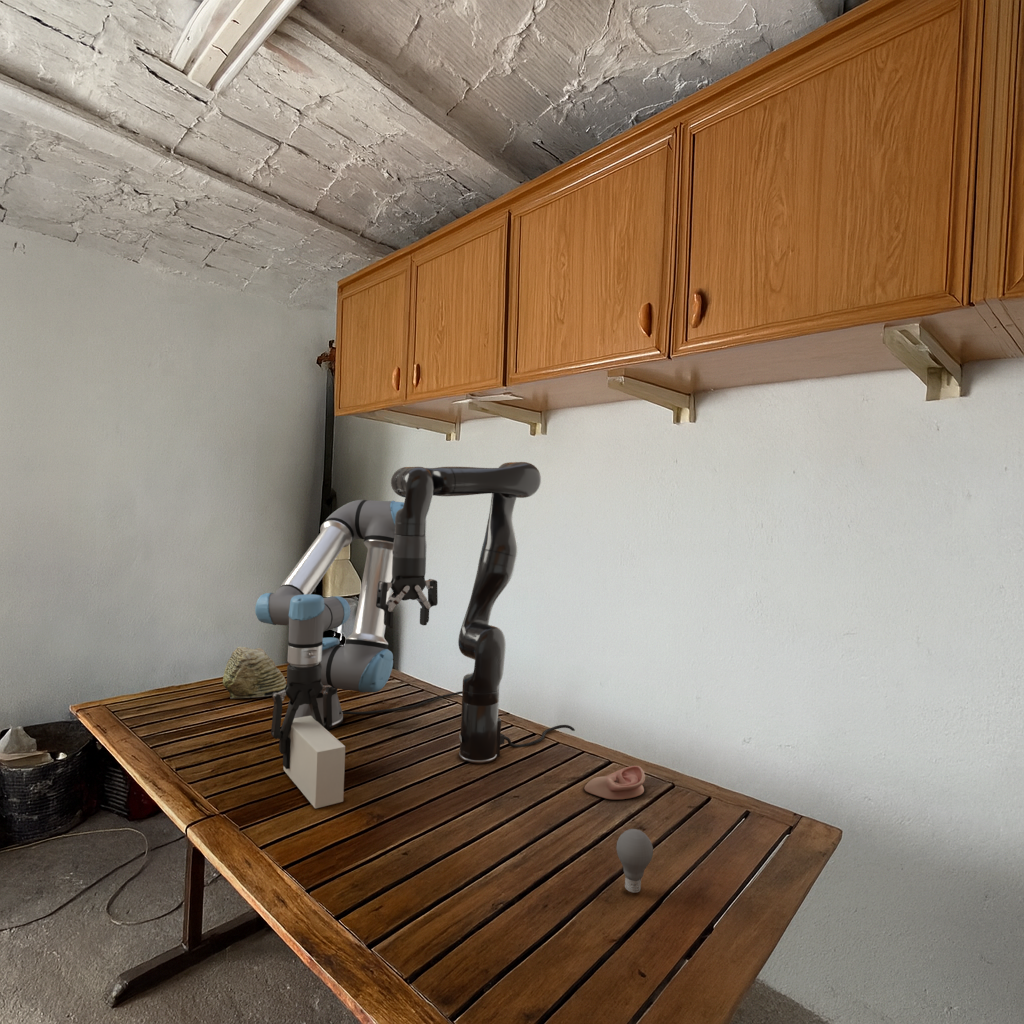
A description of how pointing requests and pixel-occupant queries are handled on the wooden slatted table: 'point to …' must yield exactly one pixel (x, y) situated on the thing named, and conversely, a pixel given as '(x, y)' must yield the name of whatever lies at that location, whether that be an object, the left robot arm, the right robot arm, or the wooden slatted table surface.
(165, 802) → the wooden slatted table surface
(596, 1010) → the wooden slatted table surface
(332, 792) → the box
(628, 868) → the light bulb
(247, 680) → the fossil
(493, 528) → the right robot arm
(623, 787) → the anatomical model
